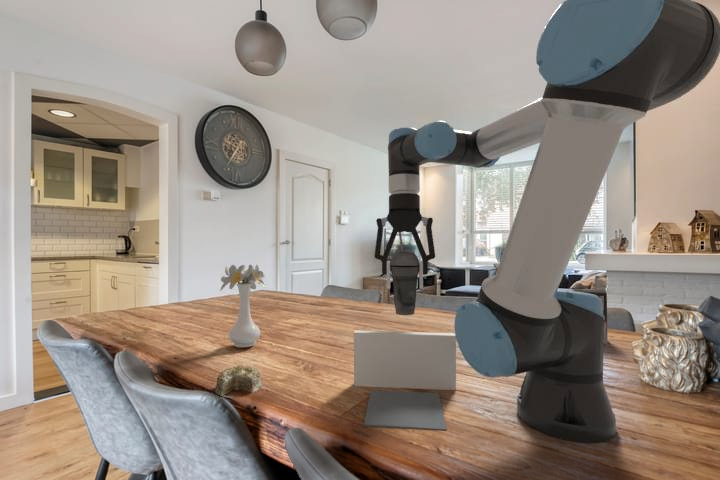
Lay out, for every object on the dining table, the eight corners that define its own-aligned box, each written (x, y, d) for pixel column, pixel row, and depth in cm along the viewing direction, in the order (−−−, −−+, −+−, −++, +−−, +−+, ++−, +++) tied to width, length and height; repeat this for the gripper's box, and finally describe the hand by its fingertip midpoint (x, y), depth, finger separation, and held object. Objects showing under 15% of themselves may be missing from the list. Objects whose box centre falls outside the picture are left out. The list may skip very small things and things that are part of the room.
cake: (214, 384, 81) (214, 360, 81) (259, 377, 85) (259, 355, 85) (214, 403, 72) (214, 376, 72) (265, 394, 76) (265, 369, 76)
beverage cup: (419, 316, 83) (419, 230, 83) (388, 315, 84) (387, 230, 84) (420, 311, 90) (420, 231, 90) (391, 309, 91) (391, 231, 91)
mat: (438, 397, 74) (438, 393, 74) (446, 433, 60) (446, 429, 60) (370, 393, 75) (370, 389, 75) (363, 428, 62) (363, 424, 62)
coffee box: (606, 339, 115) (606, 289, 115) (607, 344, 110) (607, 292, 110) (573, 335, 120) (573, 287, 120) (573, 340, 115) (573, 290, 115)
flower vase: (263, 334, 122) (263, 261, 121) (266, 351, 104) (266, 265, 104) (222, 338, 118) (222, 262, 117) (219, 355, 100) (218, 266, 100)
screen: (454, 387, 78) (454, 333, 78) (456, 391, 76) (456, 335, 76) (355, 383, 81) (355, 330, 81) (353, 386, 79) (353, 332, 79)
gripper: (444, 195, 90) (445, 286, 90) (364, 197, 92) (365, 286, 92) (448, 191, 82) (448, 290, 82) (361, 193, 85) (362, 289, 84)
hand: (404, 288), depth 87 cm, fingers closed on beverage cup, 7 cm apart
